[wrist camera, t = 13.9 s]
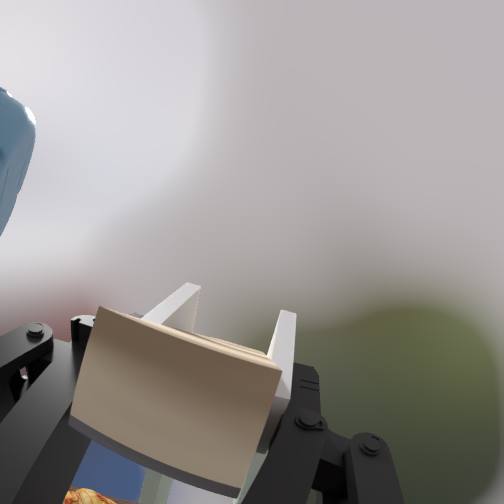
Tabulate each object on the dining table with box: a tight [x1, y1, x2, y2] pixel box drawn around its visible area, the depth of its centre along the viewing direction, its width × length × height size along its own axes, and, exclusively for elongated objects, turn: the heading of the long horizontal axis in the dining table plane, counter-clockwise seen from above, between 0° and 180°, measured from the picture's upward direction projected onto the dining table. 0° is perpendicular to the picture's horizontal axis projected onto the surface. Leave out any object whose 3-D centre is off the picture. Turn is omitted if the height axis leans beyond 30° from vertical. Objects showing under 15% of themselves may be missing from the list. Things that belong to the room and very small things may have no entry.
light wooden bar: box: [68, 306, 282, 499], centre depth 16 cm, size 24×4×3 cm, turn 179°
